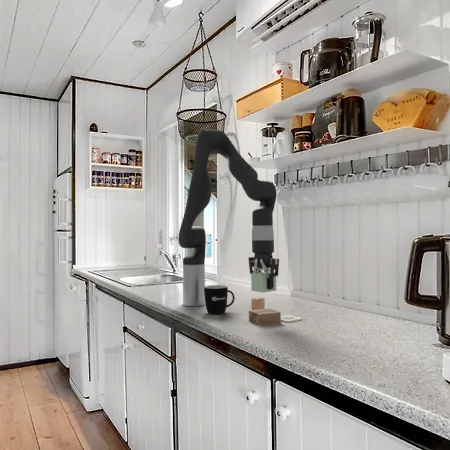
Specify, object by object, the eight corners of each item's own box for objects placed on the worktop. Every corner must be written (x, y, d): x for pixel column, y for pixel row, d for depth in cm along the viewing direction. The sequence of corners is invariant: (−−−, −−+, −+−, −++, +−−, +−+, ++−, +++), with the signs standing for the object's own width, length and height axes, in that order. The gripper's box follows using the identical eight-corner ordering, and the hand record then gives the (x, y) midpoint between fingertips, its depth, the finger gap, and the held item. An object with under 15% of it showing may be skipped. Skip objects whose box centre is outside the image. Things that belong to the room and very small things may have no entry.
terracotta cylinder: (248, 314, 160) (248, 298, 160) (258, 312, 163) (258, 297, 163) (257, 316, 156) (257, 299, 156) (267, 314, 159) (267, 298, 159)
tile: (273, 319, 151) (273, 317, 151) (288, 316, 155) (288, 314, 155) (287, 322, 145) (287, 320, 145) (302, 319, 149) (302, 317, 149)
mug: (208, 316, 158) (208, 288, 158) (201, 312, 166) (201, 285, 166) (238, 313, 162) (238, 286, 162) (230, 309, 170) (230, 283, 170)
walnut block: (248, 321, 149) (248, 310, 149) (269, 319, 152) (269, 308, 152) (259, 326, 142) (259, 314, 142) (280, 324, 145) (280, 312, 145)
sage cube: (251, 290, 148) (251, 273, 148) (265, 288, 151) (264, 271, 151) (262, 292, 143) (262, 274, 143) (276, 290, 146) (275, 273, 146)
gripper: (241, 239, 151) (242, 287, 151) (267, 239, 139) (269, 291, 139) (258, 238, 155) (259, 285, 155) (285, 238, 143) (286, 289, 143)
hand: (263, 287), depth 147 cm, fingers closed on sage cube, 6 cm apart
